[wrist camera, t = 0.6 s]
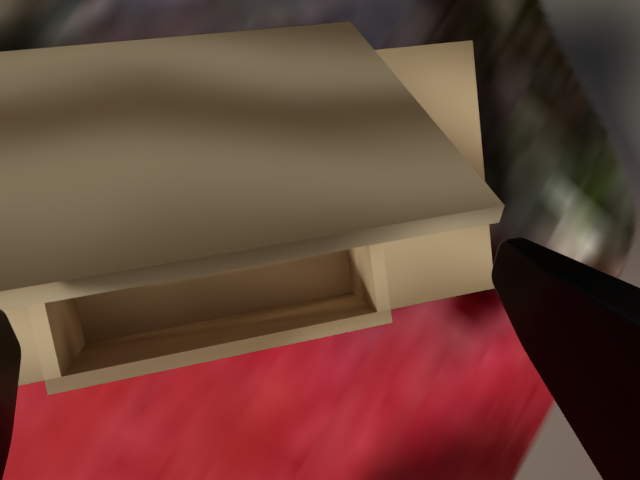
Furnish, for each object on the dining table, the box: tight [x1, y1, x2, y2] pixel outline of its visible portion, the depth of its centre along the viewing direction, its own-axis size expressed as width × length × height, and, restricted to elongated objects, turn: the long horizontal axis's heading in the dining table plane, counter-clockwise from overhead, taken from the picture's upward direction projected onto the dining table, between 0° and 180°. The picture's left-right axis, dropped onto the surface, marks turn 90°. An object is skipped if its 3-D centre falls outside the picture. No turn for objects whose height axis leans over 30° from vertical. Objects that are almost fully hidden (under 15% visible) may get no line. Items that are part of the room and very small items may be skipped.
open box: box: [3, 40, 494, 395], centre depth 22 cm, size 12×24×4 cm, turn 98°
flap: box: [0, 21, 505, 310], centre depth 14 cm, size 12×13×1 cm
